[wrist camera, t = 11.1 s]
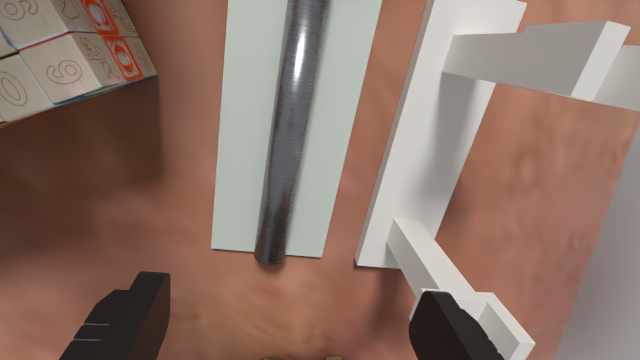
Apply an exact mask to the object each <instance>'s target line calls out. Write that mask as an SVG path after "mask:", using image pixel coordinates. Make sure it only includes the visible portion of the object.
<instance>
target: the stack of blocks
mask: <svg viewBox="0 0 640 360" xmlns="http://www.w3.org/2000/svg"><path fill="white" fill-rule="evenodd" d="M156 75H158V74H157V72H156V70H155V68H154V66H153V64H152V62H151V60H150V58H149V56H148V54H147V52H146V50H145V48H144V46H143V44H142V42H141V40H140V38H139V36H138V33H137V31H136V29H135V27H134V25H133V23H132V21H131V19H130V17H129V15H128V13H127V12H126V10H125V8H124V6H123V4H122V2H121V1H120V0H0V128H3V127H6V126H9V125H12V124H15V123H18V122H21V121H23V120H24V119H25V118H28V117H32V116H34V115H37V114H40V113H43V112H46V111H49V110H53V109H55V108H57V107H60V106H64V105H67V104H70V103H75V102H78V101H82V100H85V99H89V98H92V97H95V96H98V95H101V94H104V93H107V92H110V91H113V90H116V89H119V88H122V87H124V86H126V85H129V84H132V83H135V82H138V81H141V80H144V79H147V78H150V77H153V76H156Z"/></svg>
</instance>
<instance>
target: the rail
mask: <svg viewBox="0 0 640 360" xmlns="http://www.w3.org/2000/svg"><path fill="white" fill-rule="evenodd" d="M330 3H331V0H288V1H287V8H286V16H285V23H284V31H283V38H282V46H281V53H280V61H279V68H278V76H277V83H276V91H275V98H274V106H273V113H272V121H271V128H270V136H269V143H268V151H267V158H266V166H265V173H264V181H263V188H262V195H261V203H260V210H259V218H258V225H257V233H256V240H255V248H254V257H255V259H256V260H258V261H259V262H261V263H263V264H268V265H273V264H278V263H280V262H282V261H283V260H284V258H285V252H286V247H287V241H288V236H289V230H290V225H291V219H292V214H293V208H294V203H295V197H296V192H297V186H298V180H299V175H300V169H301V164H302V158H303V153H304V147H305V142H306V136H307V131H308V125H309V120H310V114H311V109H312V103H313V97H314V92H315V86H316V81H317V75H318V70H319V64H320V59H321V53H322V48H323V42H324V37H325V31H326V25H327V20H328V14H329V9H330Z"/></svg>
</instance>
